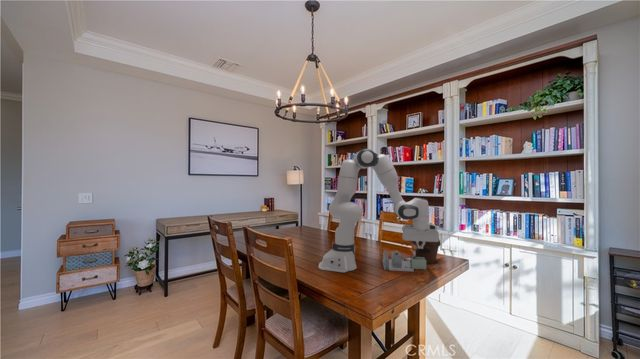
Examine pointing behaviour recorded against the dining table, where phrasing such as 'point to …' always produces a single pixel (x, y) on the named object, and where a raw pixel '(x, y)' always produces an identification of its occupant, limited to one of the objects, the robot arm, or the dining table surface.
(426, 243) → the case
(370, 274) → the dining table surface
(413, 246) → the ram
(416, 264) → the ram guide
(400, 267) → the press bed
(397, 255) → the block
